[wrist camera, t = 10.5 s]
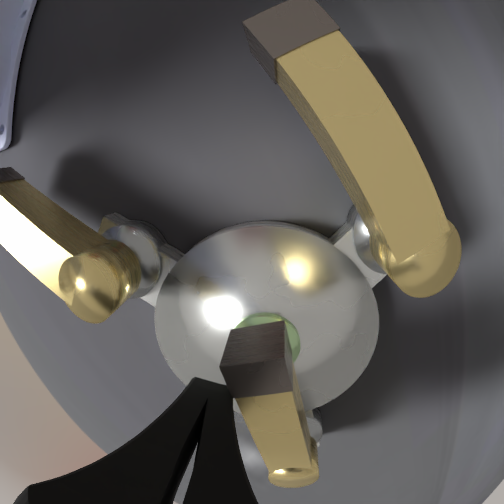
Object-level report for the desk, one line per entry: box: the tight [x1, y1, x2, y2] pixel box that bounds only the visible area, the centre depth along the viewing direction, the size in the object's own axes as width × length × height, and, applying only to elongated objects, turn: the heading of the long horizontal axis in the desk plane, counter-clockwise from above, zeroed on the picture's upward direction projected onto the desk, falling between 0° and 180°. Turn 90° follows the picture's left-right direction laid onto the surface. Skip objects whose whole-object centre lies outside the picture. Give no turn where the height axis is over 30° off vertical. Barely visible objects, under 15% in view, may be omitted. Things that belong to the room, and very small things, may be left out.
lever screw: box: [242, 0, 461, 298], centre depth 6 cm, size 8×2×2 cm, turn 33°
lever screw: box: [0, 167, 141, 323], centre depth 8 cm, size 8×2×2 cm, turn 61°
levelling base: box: [98, 204, 387, 446], centre depth 10 cm, size 13×12×1 cm
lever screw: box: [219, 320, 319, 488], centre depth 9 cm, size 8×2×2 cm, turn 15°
